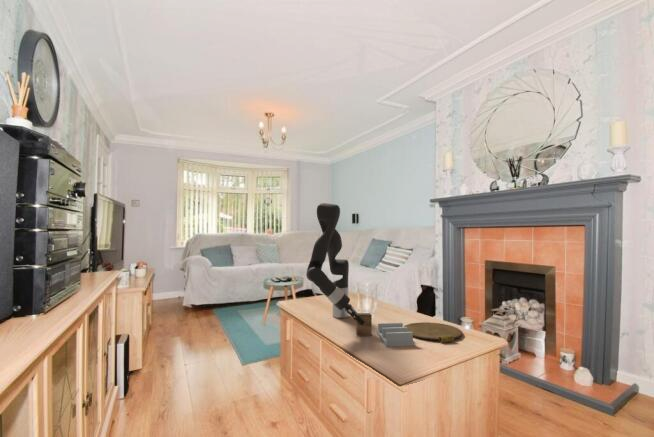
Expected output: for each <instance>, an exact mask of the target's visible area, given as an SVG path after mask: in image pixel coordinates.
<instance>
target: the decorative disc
mask: <svg viewBox="0 0 654 437" xmlns="http://www.w3.org/2000/svg"><path fill="white" fill-rule="evenodd" d="M403 327H407V328H408V332H413V338H418V339H422V340H430V341H431V340H432V341H437V342H439V343H440V344H446V343H453V342H454V341H455V339H458V338H461V337H462V335H463V334H464V333H463V331H462V330H461V329H460V328H458V327H457V326H456V327H455V326H453V325H450V324H445V323H439V322H430V321H429V322H413V323H408V324H406V325H403Z"/></svg>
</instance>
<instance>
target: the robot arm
mask: <svg viewBox="0 0 654 437" xmlns="http://www.w3.org/2000/svg"><path fill="white" fill-rule="evenodd" d="M340 215H341V208H340V205H338V204H333V203H326V202H321V203H319V204H318V205H317V207H316V217H317V221H318V223H319V226H320V229H321V232H322V234H321V235H320V236H319V237H318V238H317V240H316V241H315V243H314V244H313V248H312V252H311V257H310V261H309V264H308V266H307V268H306V273H305V275H306V276H305V277H306V278H307V280H309V281H310V282H312V283H313V284H314V285H315V286H316V287H317V288H319V290H320V292H321V293H323V295H324V296H325V297H326V298H327V299H328V300H329V302H330V303H331V304H332V317H333V318H336V319H345V318H349V316H350V317H351V318H352V319H353V320H354V321H356V320H357V321H358V322H359V323H360V324H361V325H363V324H364V323H365V322H364V321H363V320H362V319H361V318H360V316H359V315H358V314H357V313H358V312H357V311H356V309H355V308H354V306H353V305H352V304H351V303H350V301H351V298H350V297H349V269H350V264H349V260H347V259H341V258H340V259H339V258H338V259H336V257H337V256H338V255H339V253H340V252H341V251H342V248H343V241H342V238H341V235H340V233H339V231H338V230H337V229H336V227H337V225H338V222H339V218H340ZM327 256H328V263H329V270H330V273H331V275H333V276H334V275H335V276H342V277H341V278H339V279H337V280H334V281H332V280H331V279H330V278H329V277H328V275H326V273H325V272H324V271H323V270H322V269H323V264H324V263H325V261H326V258H327ZM356 315H357V316H356Z"/></svg>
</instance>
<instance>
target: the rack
mask: <svg viewBox="0 0 654 437" xmlns="http://www.w3.org/2000/svg"><path fill="white" fill-rule="evenodd" d="M376 335H377V336H378V338H379V339H380V340H381V342H382V343H383V345H384V346H385V348H386V347H389V348H390V347H409V346H411V347H412V346H416V345H415V343H416V342H415V341H414V336H413V332H408V328H407V327H404V323H403V322H378V323H377V331H376Z"/></svg>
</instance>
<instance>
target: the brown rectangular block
mask: <svg viewBox="0 0 654 437" xmlns="http://www.w3.org/2000/svg"><path fill="white" fill-rule="evenodd" d="M357 314H358V315H359V316H360V318H361V319H362V320H363V321H364V322H365V323H364V324H363V325H361V324H360V323H359V322H358V321H357V320H355V334H356V337H372V336H373V335H372V332H373V330H372V327H373V326H372V325H373V324H372V320H373V318H372V316H373V315H372V313H370V312H360V313H359V312H357ZM356 316H357V315H356Z"/></svg>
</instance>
